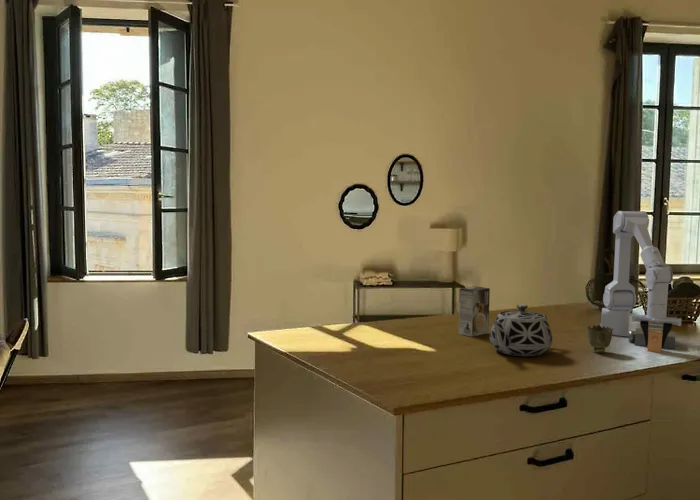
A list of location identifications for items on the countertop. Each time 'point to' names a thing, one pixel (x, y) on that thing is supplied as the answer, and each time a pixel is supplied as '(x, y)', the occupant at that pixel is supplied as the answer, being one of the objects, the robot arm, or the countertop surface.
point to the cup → (599, 337)
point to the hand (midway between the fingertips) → (654, 345)
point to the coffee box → (474, 311)
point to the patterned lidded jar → (521, 332)
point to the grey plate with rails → (639, 335)
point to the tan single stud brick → (654, 341)
